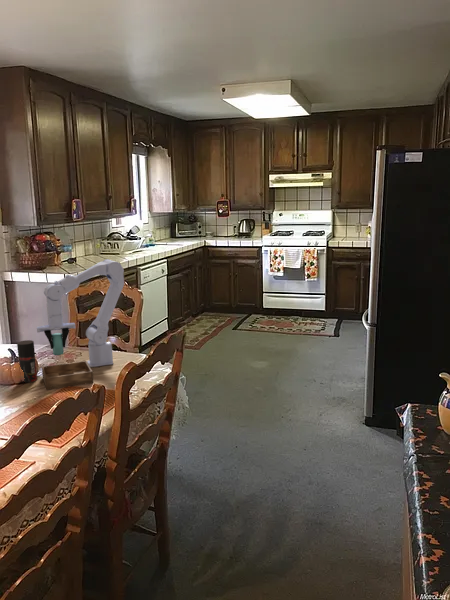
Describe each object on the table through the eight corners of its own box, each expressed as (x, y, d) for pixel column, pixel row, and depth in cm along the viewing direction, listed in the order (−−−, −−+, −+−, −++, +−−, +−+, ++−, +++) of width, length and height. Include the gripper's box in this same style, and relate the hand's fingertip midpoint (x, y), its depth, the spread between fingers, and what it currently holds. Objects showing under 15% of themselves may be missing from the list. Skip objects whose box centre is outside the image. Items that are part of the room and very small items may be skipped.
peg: (63, 351, 213) (61, 332, 211) (64, 354, 210) (62, 335, 208) (52, 352, 212) (51, 333, 210) (53, 355, 208) (52, 336, 206)
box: (87, 371, 211) (86, 360, 210) (93, 382, 198) (92, 371, 198) (42, 377, 204) (41, 367, 203) (46, 390, 192) (45, 378, 191)
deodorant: (32, 382, 199) (28, 344, 196) (17, 382, 200) (13, 344, 197) (40, 377, 205) (36, 340, 202) (26, 376, 206) (22, 340, 203)
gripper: (36, 318, 201) (39, 352, 204) (75, 314, 206) (77, 347, 209) (35, 314, 207) (38, 347, 210) (73, 310, 213) (75, 343, 216)
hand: (57, 347), depth 210 cm, fingers closed on peg, 4 cm apart
